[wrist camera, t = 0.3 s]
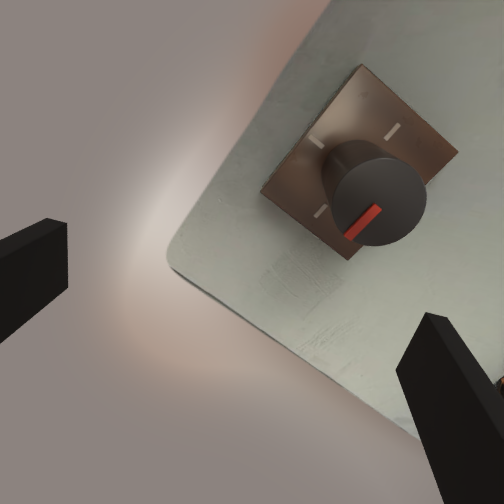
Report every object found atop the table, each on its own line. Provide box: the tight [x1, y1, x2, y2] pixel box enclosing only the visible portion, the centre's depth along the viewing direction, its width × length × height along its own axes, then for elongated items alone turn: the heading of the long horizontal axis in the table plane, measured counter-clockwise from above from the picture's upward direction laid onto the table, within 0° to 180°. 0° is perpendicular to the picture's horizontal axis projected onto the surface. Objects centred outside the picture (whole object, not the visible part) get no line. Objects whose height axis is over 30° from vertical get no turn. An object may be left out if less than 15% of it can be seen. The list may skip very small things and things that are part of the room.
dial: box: [321, 140, 427, 246], centre depth 23 cm, size 5×5×9 cm
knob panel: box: [260, 64, 458, 260], centre depth 29 cm, size 12×10×2 cm
